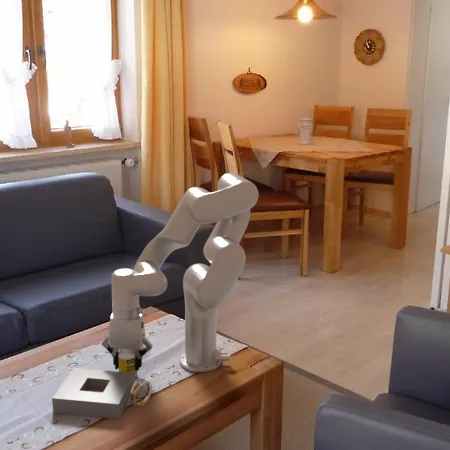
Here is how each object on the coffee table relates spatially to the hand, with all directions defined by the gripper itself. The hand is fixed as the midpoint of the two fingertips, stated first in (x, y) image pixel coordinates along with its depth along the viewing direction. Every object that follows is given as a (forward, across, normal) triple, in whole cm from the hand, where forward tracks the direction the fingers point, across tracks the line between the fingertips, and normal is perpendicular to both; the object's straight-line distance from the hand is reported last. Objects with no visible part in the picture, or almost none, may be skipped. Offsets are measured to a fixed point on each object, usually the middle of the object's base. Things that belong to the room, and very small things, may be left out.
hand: (127, 367), depth 186 cm
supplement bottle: (+3, 0, 0) cm, 3 cm away
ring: (+3, -8, +15) cm, 17 cm away
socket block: (+2, +5, +14) cm, 15 cm away
